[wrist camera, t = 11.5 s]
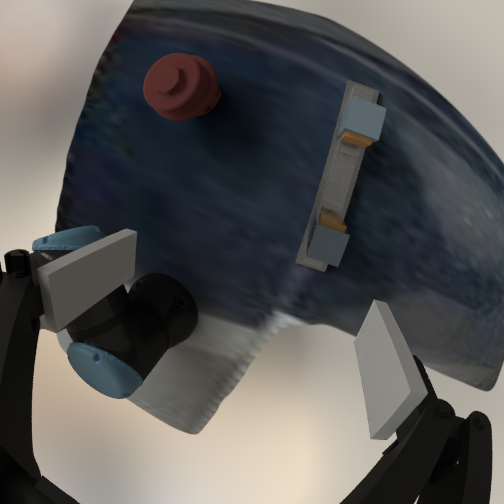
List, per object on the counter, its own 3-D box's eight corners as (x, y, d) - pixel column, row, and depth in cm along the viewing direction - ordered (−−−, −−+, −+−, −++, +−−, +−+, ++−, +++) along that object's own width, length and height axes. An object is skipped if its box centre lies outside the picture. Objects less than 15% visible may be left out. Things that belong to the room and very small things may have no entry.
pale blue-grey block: (344, 111, 33) (352, 95, 25) (370, 120, 32) (386, 108, 24) (336, 140, 35) (343, 132, 26) (362, 149, 34) (377, 145, 26)
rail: (324, 270, 43) (327, 304, 33) (295, 260, 44) (289, 292, 33) (378, 92, 33) (398, 68, 22) (347, 81, 33) (357, 53, 23)
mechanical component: (174, 78, 38) (229, 65, 36) (177, 131, 41) (234, 121, 39) (133, 58, 27) (201, 35, 25) (134, 123, 30) (205, 105, 28)
